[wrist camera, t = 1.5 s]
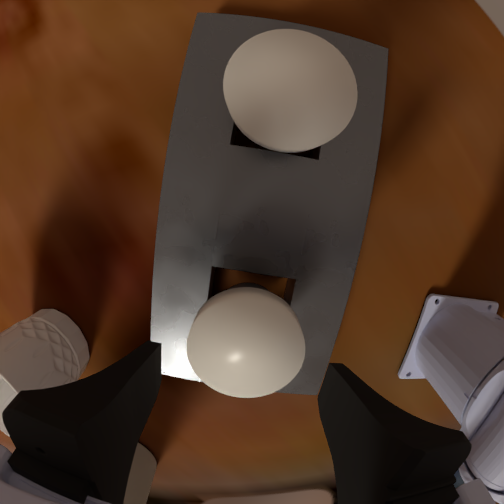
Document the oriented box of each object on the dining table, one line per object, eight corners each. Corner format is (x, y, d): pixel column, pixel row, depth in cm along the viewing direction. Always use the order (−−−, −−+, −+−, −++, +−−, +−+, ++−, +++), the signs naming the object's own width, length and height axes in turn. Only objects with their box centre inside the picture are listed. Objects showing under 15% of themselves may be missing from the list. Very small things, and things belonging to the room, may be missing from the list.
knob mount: (372, 63, 17) (388, 48, 14) (310, 372, 23) (316, 395, 20) (204, 32, 17) (197, 12, 14) (161, 350, 23) (150, 371, 20)
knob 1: (335, 77, 15) (362, 45, 10) (322, 166, 17) (348, 162, 12) (240, 59, 15) (235, 20, 10) (223, 149, 16) (212, 137, 12)
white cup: (45, 373, 24) (-6, 432, 14) (18, 302, 22) (-51, 349, 12) (107, 379, 24) (59, 456, 14) (80, 299, 22) (5, 361, 12)
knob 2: (301, 274, 18) (318, 308, 13) (283, 353, 19) (290, 402, 15) (207, 259, 18) (191, 289, 13) (198, 341, 19) (183, 388, 14)
